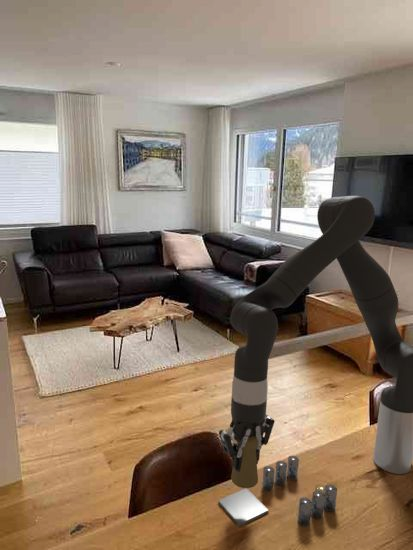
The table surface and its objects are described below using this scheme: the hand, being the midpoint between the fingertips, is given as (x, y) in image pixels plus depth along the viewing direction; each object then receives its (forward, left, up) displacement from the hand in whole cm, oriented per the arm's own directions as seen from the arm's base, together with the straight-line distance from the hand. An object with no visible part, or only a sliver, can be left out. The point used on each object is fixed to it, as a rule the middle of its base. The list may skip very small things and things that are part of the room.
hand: (245, 465), depth 91 cm
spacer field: (-13, +4, -11) cm, 17 cm away
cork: (0, 0, -3) cm, 3 cm away
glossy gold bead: (-20, +6, -11) cm, 23 cm away
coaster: (0, 0, -11) cm, 11 cm away
